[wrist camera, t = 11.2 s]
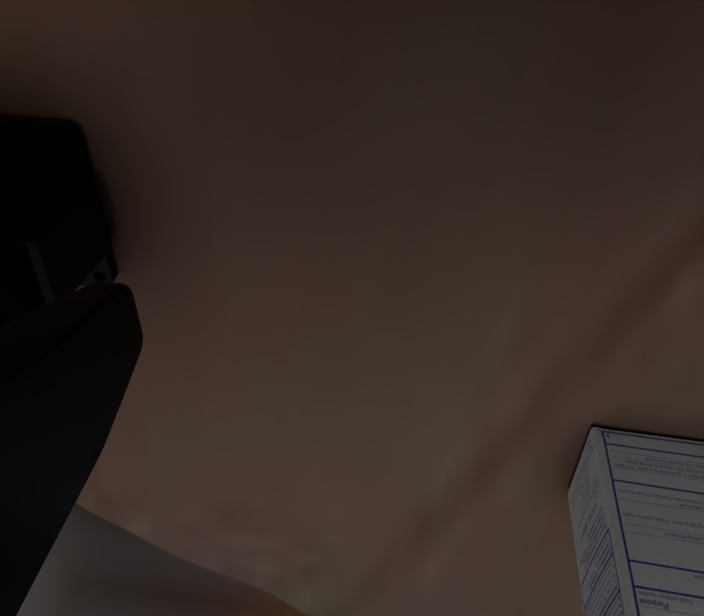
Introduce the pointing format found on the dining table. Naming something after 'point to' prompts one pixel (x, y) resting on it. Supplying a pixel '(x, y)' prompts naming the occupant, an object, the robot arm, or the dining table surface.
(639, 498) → the medicine box
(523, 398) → the dining table surface
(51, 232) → the robot arm
